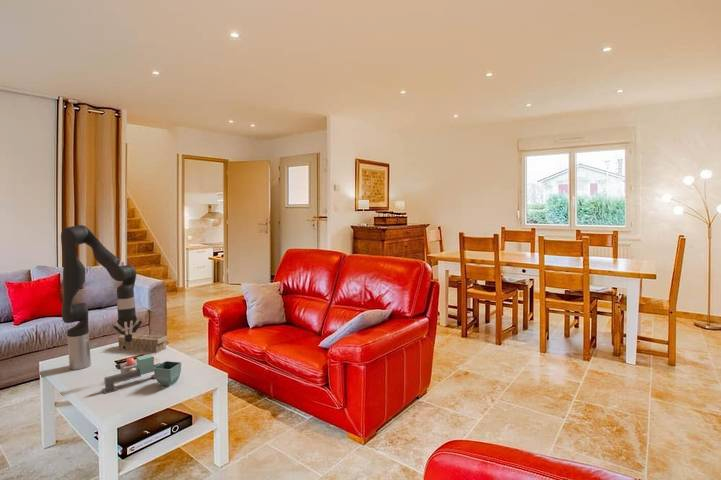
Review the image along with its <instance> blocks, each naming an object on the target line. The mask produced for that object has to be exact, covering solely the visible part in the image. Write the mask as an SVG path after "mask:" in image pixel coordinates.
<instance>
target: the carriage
mask: <svg viewBox="0 0 721 480" xmlns="http://www.w3.org/2000/svg"><path fill="white" fill-rule="evenodd" d="M154 360H155V358H154V356H153V355H152V354H151V353H149V354H145V355H144V354H143V355H141V356H140V355H139V356H136V361H137V369H139V370H140V374H143V375H146V374H149V373H148V372H150V373H152V371H154V365H155V362H154ZM145 373H146V374H145Z"/></svg>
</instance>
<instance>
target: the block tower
mask: <svg viewBox="0 0 721 480" xmlns="http://www.w3.org/2000/svg"><path fill="white" fill-rule="evenodd" d="M117 338H118V339H117V340H118V349H119V350H120V351H121V350H122V351H123V350H125V351H133V352H141V353H142V352H143V353H155V354H157V353H160V352H161V351H163V350H166V349H167V341H168V338H169V337H168V335H157V334H148V335H145V334H141V333H132V340H131V342H128V343H127V342H126V341H125V336H124V335H122V334H120V335H119V336H118V337H117Z"/></svg>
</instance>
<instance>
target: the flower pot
mask: <svg viewBox="0 0 721 480" xmlns="http://www.w3.org/2000/svg"><path fill="white" fill-rule="evenodd" d="M160 363H161V362H160ZM181 370H182V362H181V361H169V360H165V361H163V362H162V363H161V364H160V365H158V366H156V367H155V368H154V373H155V377H156V379H155V380H156V381H157V383H158V384H160V386H166V387H167V386H168V387H169V386H172V385H174V384H175V383H176V382H177V381H178V380H179V378H180V375H181Z"/></svg>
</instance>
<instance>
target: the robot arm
mask: <svg viewBox="0 0 721 480" xmlns="http://www.w3.org/2000/svg"><path fill="white" fill-rule="evenodd" d="M60 240H61V243H60V244H61V250H62V265H63V266H62V267H63V268H62V270H63V271H62V288H63V291H62V294H63V296H62V306H61V318H62V321H63V322H64V323H65V324H71V323H76V322H78V323H77V324H76V325H74V326H72V327H70V328H69V329H67V331H66V335H67V336H66V337H67V338H66V339H67V349H68V363H69V365H68V366H69V370H73V371H74V370H76V371H77V370H83V369H86V368H88V367H90V366H91V365H92V358H91V348H90V346H91V345H90V343H91V342H90V331H89V327H90V326H89V307H88V304H87V303H86V302H79V303H77V302H76V303H73V300H74V298H75V297H76V295H77V294H78V293H79V291H80V290H81V289H82V288H83V286H84V284H85V282H86V267H85V266H84V264H83V263H82V261H81V260H80V259H79V258H78V255H77V250H76V248H77V246H79V245H82V244H85V245H87V246H88V247H90V249H91V250H92V254H93V258H94V259H95V261H96V262H97V263H98V264H100V265H101V266H102V267H103V268H104V269H106V271H107V273H108V274H109V276H110V277H111V278H112V279H113V280H115V281H116V282H122V283H121V284H120V285H119V286H117V288H116V296H117V297H116V298H117V301H116V308H117V320H116V323H115V324H113V325H112V326H111V327H112V328H113V329H114V330H116V332H118V333H119V334H120V335H124V336H125V341H126V342H127V343H128V342H131V340H132V334H135V333H136V332H137V330H138V329H139V327H140V326H141V325H142V323H143V321H142V320H139V319H138V318H137V315H136V314H137V311H136V310H137V309H136V300H135V291H134V288H135V284H136V283H135V282H136V280H137V270H136V268H135V266H133V265H131V264H124V265H120V264H121V261H120V259H119V258H118V257H117V256H116V255H115V254H114V253H112V252H111V251H110V250H109V249H107V247H106V246H104V245H103V243H102V242H101V241H100V240H99V238H97V236H96V235H95V234H94V233H93V232H92V231H91V229H89V227H87V226H85V225H84V224H77V225H73V226H72V225H71V226H68V227H64V228H63V229H62V230H61V234H60ZM120 327H121V328H122V329H120Z"/></svg>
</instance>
